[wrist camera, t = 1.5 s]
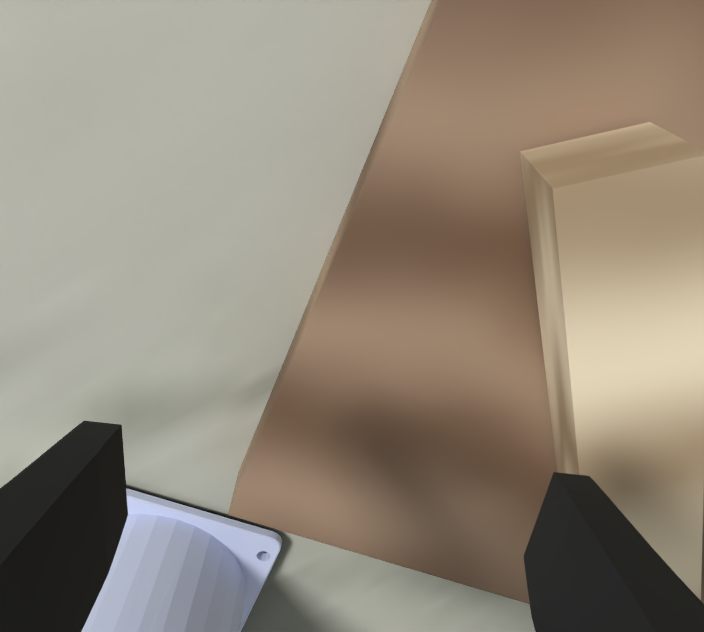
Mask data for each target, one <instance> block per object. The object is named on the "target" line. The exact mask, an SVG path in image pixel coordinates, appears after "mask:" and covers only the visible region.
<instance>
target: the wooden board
mask: <svg viewBox="0 0 704 632" xmlns="http://www.w3.org/2000/svg"><path fill="white" fill-rule="evenodd" d="M647 122H651V123H653V124H655V125H657V126H659V127H661V128H663V129H664V130H666V131H668V132H670V133H672V134H674V135H676V136H678V137H680V138H682V139H684V140H685V141H687V142H689V143H691V144H693V145H695V146H697V147H699V148H701V149H703V150H704V0H432V1H431V4H430V6H429V9H428V11H427V13H426V16H425V18H424V21H423V23H422V26H421V28H420V31H419V33H418V36H417V38H416V40H415V43H414V45H413V48H412V50H411V53H410V55H409V58H408V60H407V62H406V65H405V67H404V70H403V72H402V75H401V77H400V80H399V82H398V84H397V87H396V89H395V92H394V94H393V97H392V99H391V102H390V104H389V106H388V109H387V111H386V114H385V116H384V119H383V121H382V124H381V126H380V128H379V131H378V133H377V136H376V138H375V141H374V143H373V146H372V148H371V150H370V153H369V155H368V158H367V160H366V163H365V165H364V168H363V170H362V172H361V175H360V177H359V180H358V182H357V185H356V187H355V190H354V192H353V194H352V197H351V199H350V202H349V204H348V207H347V209H346V212H345V214H344V216H343V219H342V221H341V224H340V226H339V229H338V231H337V234H336V236H335V238H334V241H333V243H332V246H331V248H330V251H329V253H328V256H327V258H326V260H325V263H324V265H323V268H322V270H321V273H320V275H319V278H318V280H317V282H316V285H315V287H314V290H313V292H312V295H311V297H310V300H309V302H308V305H307V307H306V309H305V312H304V314H303V317H302V319H301V322H300V324H299V327H298V329H297V331H296V334H295V336H294V339H293V341H292V344H291V346H290V349H289V351H288V353H287V356H286V358H285V361H284V363H283V366H282V368H281V371H280V373H279V375H278V378H277V380H276V383H275V385H274V388H273V390H272V393H271V395H270V397H269V400H268V402H267V405H266V407H265V410H264V412H263V415H262V417H261V419H260V422H259V424H258V427H257V429H256V432H255V434H254V437H253V439H252V441H251V444H250V446H249V449H248V451H247V454H246V456H245V459H244V461H243V463H242V466H241V468H240V471H239V473H238V477H237V481H236V485H235V489H234V493H233V497H232V501H231V505H230V509H229V513H228V515H230V516H234V517H237V518H240V519H244V520H247V521H251V522H254V523H257V524H261V525H264V526H268V527H271V528H274V529H278V530H281V531H285V532H288V533H291V534H295V535H298V536H301V537H305V538H308V539H312V540H315V541H318V542H322V543H325V544H329V545H332V546H335V547H339V548H342V549H345V550H349V551H352V552H356V553H359V554H362V555H366V556H369V557H373V558H376V559H379V560H383V561H386V562H389V563H393V564H396V565H400V566H403V567H406V568H410V569H413V570H417V571H420V572H423V573H427V574H430V575H434V576H437V577H440V578H444V579H447V580H450V581H454V582H457V583H461V584H464V585H467V586H471V587H474V588H478V589H481V590H484V591H488V592H491V593H494V594H498V595H501V596H505V597H508V598H511V599H515V600H518V601H522V602H525V603H528V604H530V601H529V595H528V588H527V580H526V572H525V565H524V557H523V556H524V553H525V551H526V548H527V545H528V542H529V539H530V537H531V534H532V531H533V528H534V525H535V523H536V520H537V517H538V514H539V512H540V509H541V506H542V503H543V500H544V498H545V495H546V492H547V489H548V486H549V484H550V481H551V478H552V475H553V473H554V472H557V467H556V459H555V450H554V441H553V433H552V424H551V415H550V407H549V398H548V389H547V381H546V372H545V363H544V355H543V346H542V337H541V329H540V320H539V311H538V303H537V294H536V285H535V277H534V268H533V259H532V250H531V242H530V233H529V224H528V216H527V207H526V198H525V190H524V181H523V172H522V164H521V155H520V151H524V150H528V149H533V148H537V147H542V146H546V145H550V144H555V143H559V142H564V141H568V140H573V139H577V138H581V137H586V136H590V135H595V134H599V133H603V132H608V131H612V130H617V129H621V128H625V127H630V126H634V125H639V124H643V123H647ZM701 601H702V602H703V604H704V489H703V532H702V574H701Z"/></svg>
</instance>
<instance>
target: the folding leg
mask: <svg viewBox="0 0 704 632" xmlns="http://www.w3.org/2000/svg"><path fill="white" fill-rule="evenodd" d="M520 155H521V164H522V172H523V181H524V190H525V198H526V207H527V216H528V224H529V233H530V242H531V250H532V259H533V268H534V277H535V285H536V294H537V303H538V311H539V320H540V329H541V337H542V346H543V355H544V363H545V372H546V381H547V389H548V398H549V407H550V415H551V424H552V433H553V441H554V450H555V459H556V467H557V472H558V473H567V474H576V475H585V476H590V477H591V478H592V479H593V480H594V481H595V482H596V484H597V485H598V486H599V487H600V488H601V489H602V490H603V491H604V493H605V494H606V495H607V496H608V497H609V498H610V499H611V501H612V502H613V503H614V504H615V505H616V506H617V508H618V509H619V510H620V511H621V512H622V513H623V514H624V516H625V517H626V518H627V519H628V520H629V521H630V523H631V524H632V525H633V526H634V527H635V528H636V530H637V531H638V532H639V533H640V534H641V535H642V536H643V538H644V539H645V540H646V541H647V542H648V543H649V544H650V546H651V547H652V548H653V549H654V550H655V551H656V552H657V553H658V555H659V556H660V557H661V558H662V559H663V560H664V561H665V562H666V564H667V565H668V566H669V567H670V568H671V569H672V570H673V571H674V572H675V574H676V575H677V576H678V577H679V578H680V579H681V580H682V581H683V582H684V583H685V584H686V585H687V587H688V588H689V589H690V590H691V591H692V592H693V593H694V594H695V595H696V596H697V597H698V598H699V599H700V600H701V574H702V532H703V489H704V150H703V149H701V148H699V147H697V146H695V145H693V144H691V143H689V142H687V141H685V140H684V139H682V138H680V137H678V136H676V135H674V134H672V133H670V132H668V131H666V130H664V129H663V128H661V127H659V126H657V125H655V124H653V123H651V122H647V123H643V124H639V125H634V126H630V127H625V128H621V129H617V130H612V131H608V132H603V133H599V134H595V135H590V136H586V137H581V138H577V139H573V140H568V141H564V142H559V143H555V144H550V145H546V146H542V147H537V148H533V149H528V150H524V151H520Z"/></svg>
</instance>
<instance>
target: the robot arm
mask: <svg viewBox="0 0 704 632" xmlns="http://www.w3.org/2000/svg"><path fill="white" fill-rule="evenodd" d="M281 544H282V539H281V536H280V535H278V534H277V533H275V532H273V531H270V530H267V529H263V528H260V527H256V526H253V525H250V524H246V523H243V522H239V521H236V520H233V519H229V518H226V517H223V516H219V515H216V514H212V513H209V512H206V511H202V510H199V509H195V508H192V507H189V506H185V505H182V504H178V503H175V502H172V501H168V500H165V499H161V498H158V497H155V496H151V495H148V494H144V493H141V492H138V491H134V490H131V489H127V488H126V480H125V467H124V453H123V439H122V426H121V425H118V424H109V423H99V422H90V421H83V422H82V423H81V424H79V425H78V426H77V427H75V428H74V429H73V430H72V431H70V432H69V433H68V434H67V435H65V436H64V437H63V438H62V439H61V440H59V441H58V442H57V443H56V444H54V445H53V446H52V447H51V448H50V449H48V450H47V451H46V452H45V453H44V454H42V455H41V456H40V457H39V458H38V459H36V460H35V461H34V462H33V463H31V464H30V465H29V466H28V467H27V468H25V469H24V470H23V471H22V472H20V473H19V474H18V475H17V476H15V477H14V478H13V479H12V480H10V481H9V482H8V483H7V484H5V485H4V486H3V487H2V488H0V632H241V630H242V628H243V626H244V624H245V622H246V620H247V618H248V616H249V614H250V612H251V610H252V608H253V606H254V603H255V601H256V599H257V597H258V595H259V593H260V591H261V589H262V587H263V585H264V583H265V581H266V579H267V577H268V575H269V573H270V571H271V569H272V566H273V564H274V562H275V560H276V558H277V556H278V554H279V552H280V550H281ZM261 551H265V552H267V553H263V552H261ZM523 557H524V565H525V572H526V580H527V588H528V595H529V601H530V608H531V614H532V619H533V623H534V627H535V631H536V632H704V604H703V602H702V601H701V600H700V599H699V598H698V597H697V596H696V595H695V594H694V593H693V592H692V591H691V590H690V589H689V588H688V587H687V585H686V584H685V583H684V582H683V581H682V580H681V579H680V578H679V577H678V576H677V575H676V574H675V572H674V571H673V570H672V569H671V568H670V567H669V566H668V565H667V564H666V562H665V561H664V560H663V559H662V558H661V557H660V556H659V555H658V553H657V552H656V551H655V550H654V549H653V548H652V547H651V546H650V544H649V543H648V542H647V541H646V540H645V539H644V538H643V536H642V535H641V534H640V533H639V532H638V531H637V530H636V528H635V527H634V526H633V525H632V524H631V523H630V521H629V520H628V519H627V518H626V517H625V516H624V514H623V513H622V512H621V511H620V510H619V509H618V508H617V506H616V505H615V504H614V503H613V502H612V501H611V499H610V498H609V497H608V496H607V495H606V494H605V493H604V491H603V490H602V489H601V488H600V487H599V486H598V485H597V484H596V482H595V481H594V480H593V479H592V478H591V477H590V476H585V475H576V474H567V473H558V472H554V473H553V475H552V478H551V481H550V484H549V486H548V489H547V492H546V495H545V498H544V500H543V503H542V506H541V509H540V512H539V514H538V517H537V520H536V523H535V525H534V528H533V531H532V534H531V537H530V539H529V542H528V545H527V548H526V551H525V553H524V556H523Z"/></svg>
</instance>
